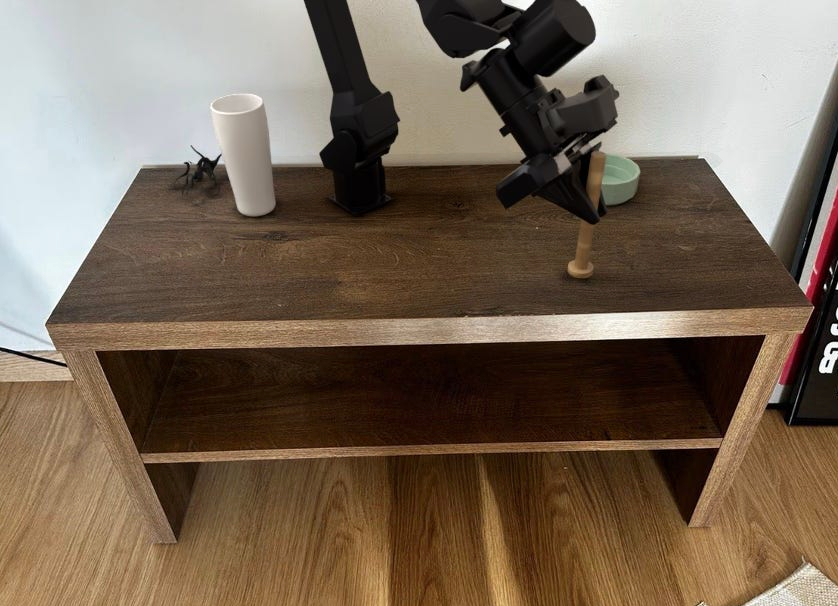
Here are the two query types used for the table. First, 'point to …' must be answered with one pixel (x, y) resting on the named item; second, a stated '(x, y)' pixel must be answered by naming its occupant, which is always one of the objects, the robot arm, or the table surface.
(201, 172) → the creature
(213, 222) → the table surface
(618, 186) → the bowl
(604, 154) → the stick
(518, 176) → the robot arm
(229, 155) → the drinking glass
